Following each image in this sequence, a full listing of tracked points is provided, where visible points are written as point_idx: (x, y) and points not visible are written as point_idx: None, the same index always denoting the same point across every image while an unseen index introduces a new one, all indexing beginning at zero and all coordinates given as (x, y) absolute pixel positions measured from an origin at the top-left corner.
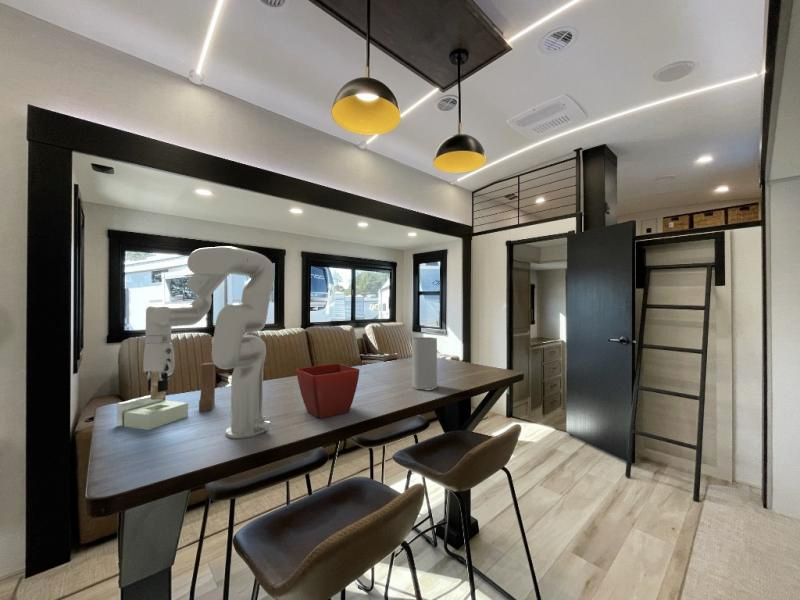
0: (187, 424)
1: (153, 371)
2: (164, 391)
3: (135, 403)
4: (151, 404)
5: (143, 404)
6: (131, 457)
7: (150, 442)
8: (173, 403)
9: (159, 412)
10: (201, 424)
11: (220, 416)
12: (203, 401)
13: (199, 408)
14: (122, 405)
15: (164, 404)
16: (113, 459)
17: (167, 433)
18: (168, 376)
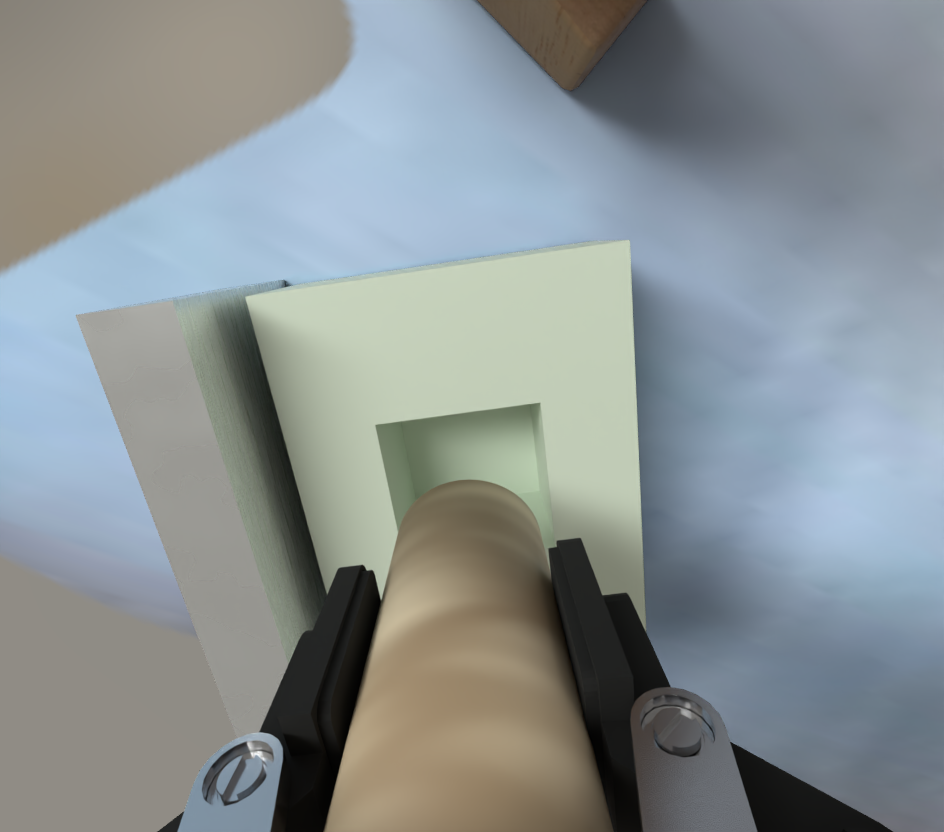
0: (770, 367)
1: None
2: (515, 530)
3: (294, 625)
4: (293, 462)
5: (283, 535)
6: (911, 759)
7: (825, 644)
8: (480, 336)
9: (640, 551)
10: (891, 316)
11: (903, 75)
12: (634, 7)
13: (580, 79)
14: None
15: (425, 403)
16: (845, 794)
17: (792, 532)
18: (817, 813)
